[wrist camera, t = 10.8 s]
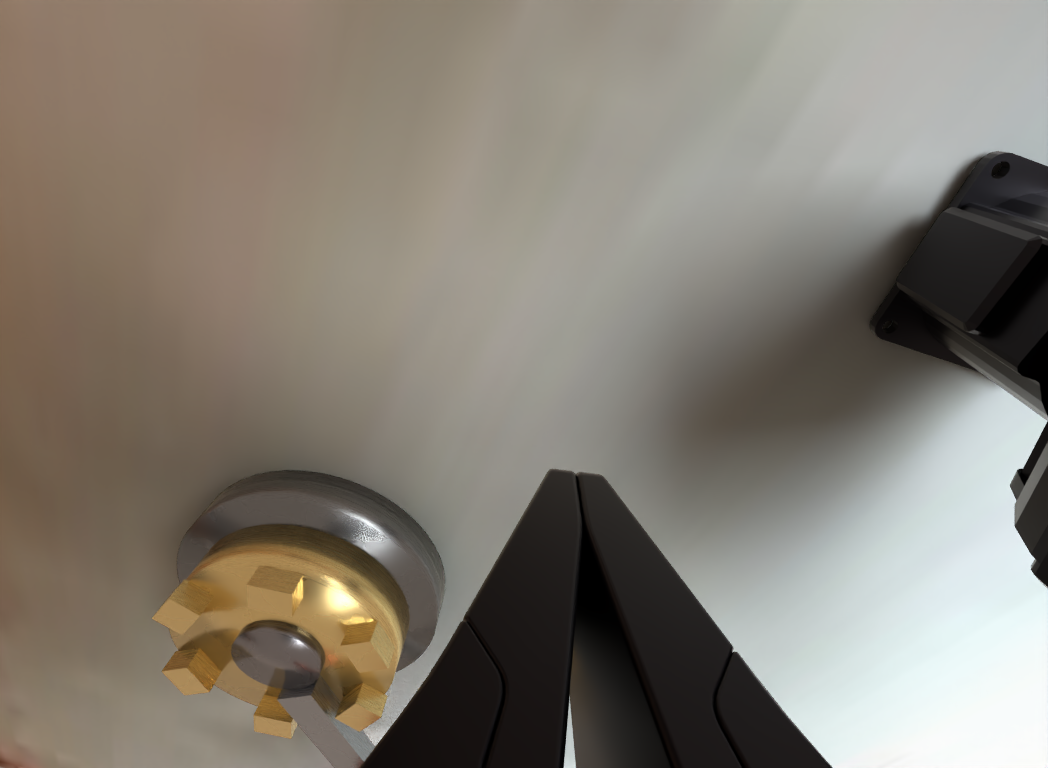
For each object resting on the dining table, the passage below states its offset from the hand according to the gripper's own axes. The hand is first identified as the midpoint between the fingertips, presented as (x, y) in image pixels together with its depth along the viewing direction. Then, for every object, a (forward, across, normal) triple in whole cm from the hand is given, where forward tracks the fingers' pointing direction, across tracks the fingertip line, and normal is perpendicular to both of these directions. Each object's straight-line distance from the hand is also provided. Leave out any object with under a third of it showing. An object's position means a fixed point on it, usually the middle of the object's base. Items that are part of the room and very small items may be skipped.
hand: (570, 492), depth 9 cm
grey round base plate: (+13, +10, +19) cm, 25 cm away
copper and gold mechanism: (+11, +8, +22) cm, 26 cm away
